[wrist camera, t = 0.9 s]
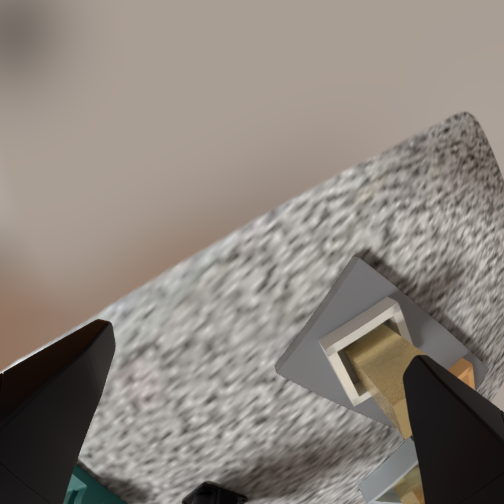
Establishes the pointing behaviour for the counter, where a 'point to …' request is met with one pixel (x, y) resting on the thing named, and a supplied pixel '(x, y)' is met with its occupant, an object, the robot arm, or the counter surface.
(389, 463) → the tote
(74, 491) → the bracket
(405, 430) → the block
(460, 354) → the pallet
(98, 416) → the counter surface
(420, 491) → the block
